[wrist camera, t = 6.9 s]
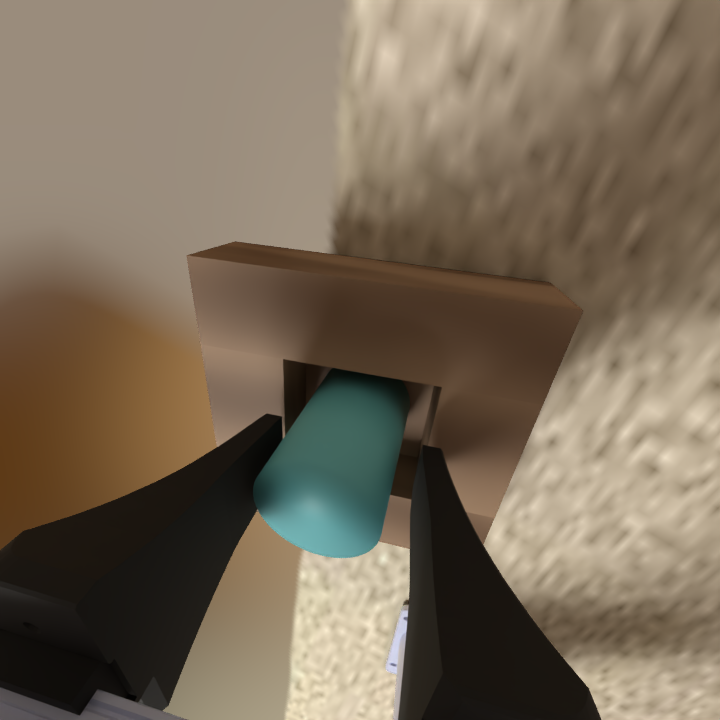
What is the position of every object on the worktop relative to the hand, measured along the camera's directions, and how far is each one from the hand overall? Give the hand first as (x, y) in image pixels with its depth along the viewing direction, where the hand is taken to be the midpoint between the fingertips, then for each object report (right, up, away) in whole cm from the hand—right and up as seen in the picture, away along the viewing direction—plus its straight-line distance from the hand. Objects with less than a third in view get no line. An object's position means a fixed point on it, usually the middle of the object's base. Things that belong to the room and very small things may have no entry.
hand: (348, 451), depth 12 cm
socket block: (+1, +2, +3) cm, 4 cm away
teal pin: (+1, +2, +3) cm, 3 cm away
